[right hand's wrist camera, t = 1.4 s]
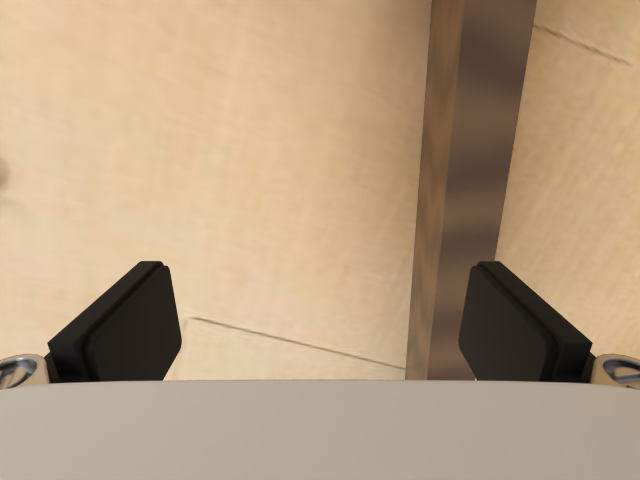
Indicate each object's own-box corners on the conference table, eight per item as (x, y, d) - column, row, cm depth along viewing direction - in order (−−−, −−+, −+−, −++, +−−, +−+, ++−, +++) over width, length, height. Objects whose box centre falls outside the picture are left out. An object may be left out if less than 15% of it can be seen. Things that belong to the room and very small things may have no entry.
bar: (437, -81, 26) (479, -146, 19) (498, -83, 26) (561, -149, 19) (397, 480, 48) (410, 543, 41) (430, 480, 48) (448, 542, 41)
